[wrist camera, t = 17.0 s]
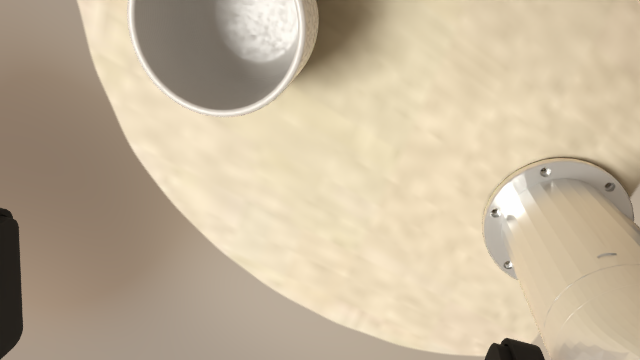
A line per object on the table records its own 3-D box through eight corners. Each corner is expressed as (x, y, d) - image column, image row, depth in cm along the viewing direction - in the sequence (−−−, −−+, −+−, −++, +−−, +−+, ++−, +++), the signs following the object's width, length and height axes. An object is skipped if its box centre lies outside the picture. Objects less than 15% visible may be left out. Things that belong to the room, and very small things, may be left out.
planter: (280, 115, 46) (246, 151, 36) (166, 38, 45) (98, 51, 35) (357, -4, 41) (343, -2, 31) (231, -94, 40) (175, -122, 30)
